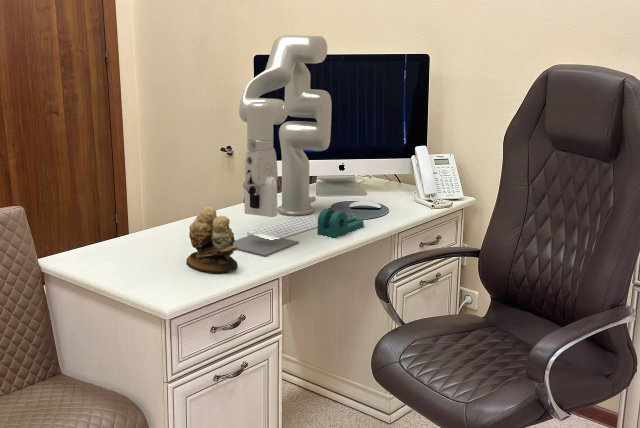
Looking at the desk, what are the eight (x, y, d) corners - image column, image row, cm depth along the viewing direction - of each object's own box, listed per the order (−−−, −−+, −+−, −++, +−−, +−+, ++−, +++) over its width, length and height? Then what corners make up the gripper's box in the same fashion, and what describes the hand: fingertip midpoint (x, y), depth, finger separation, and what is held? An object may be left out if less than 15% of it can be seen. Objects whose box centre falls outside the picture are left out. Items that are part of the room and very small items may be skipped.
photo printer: (242, 214, 219) (241, 173, 215) (249, 211, 222) (248, 170, 219) (272, 218, 215) (272, 177, 211) (279, 215, 218) (279, 174, 215)
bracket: (334, 239, 228) (335, 214, 226) (317, 235, 232) (317, 211, 230) (367, 226, 242) (367, 203, 240) (350, 223, 246) (350, 200, 244)
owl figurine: (251, 268, 202) (250, 208, 197) (218, 279, 193) (216, 217, 189) (208, 253, 213) (206, 196, 209) (175, 263, 205) (172, 204, 200)
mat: (257, 234, 232) (257, 232, 232) (298, 243, 223) (298, 241, 223) (223, 246, 219) (223, 244, 219) (265, 257, 210) (265, 255, 210)
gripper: (251, 150, 204) (251, 213, 209) (288, 142, 218) (288, 202, 222) (230, 147, 208) (232, 209, 213) (268, 139, 222) (269, 198, 227)
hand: (260, 205), depth 218 cm, fingers closed on photo printer, 4 cm apart
